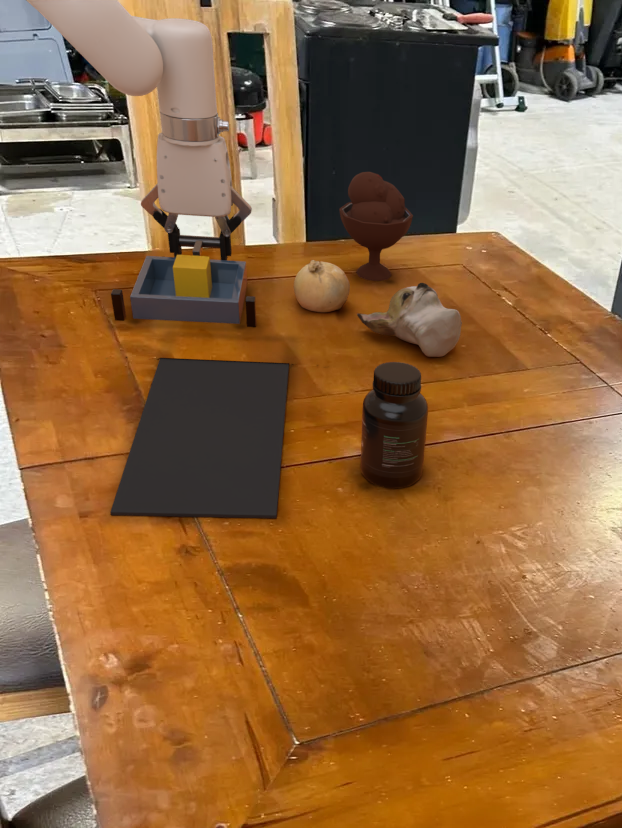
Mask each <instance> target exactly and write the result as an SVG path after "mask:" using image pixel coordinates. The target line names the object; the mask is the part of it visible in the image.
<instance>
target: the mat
mask: <svg viewBox="0 0 622 828" xmlns="http://www.w3.org/2000/svg"><path fill="white" fill-rule="evenodd" d="M289 371H290V362H272V361H271V362H269V361H246V360H225V359H224V360H220V359H201V358H200V359H199V358H175V357H159V360H158V364H157V366H156V370H155V372H154V376H153V379H152V382H151V385H150V388H149V391H148V394H147V397H146V400H145V404H144V406H143V409H142V413H141V416H140V420H139V422H138V425H137V428H136V431H135V434H134V438H133V440H132V444H131V447H130V450H129V453H128V456H127V459H126V462H125V465H124V469H123V471H122V475H121V478H120V481H119V484H118V487H117V490H116V493H115V497H114V499H113V503H112V506H111V509H110V512H109V513H110V516H130V517H135V516H136V517H179V518H180V517H183V518H186V517H187V518H230V519H231V518H233V519H234V518H236V519H277V517H278V507H279V505H278V504H279V496H280V495H279V494H280V481H281V469H282V456H283V444H284V443H283V442H284V434H285V433H284V432H285V420H286V419H285V418H286V409H287V408H286V407H287V396H288V383H289V382H288V381H289V373H290V372H289Z"/></svg>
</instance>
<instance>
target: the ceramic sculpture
mask: <svg viewBox="0 0 622 828" xmlns="http://www.w3.org/2000/svg"><path fill="white" fill-rule="evenodd" d="M356 316H357V318H358V319H359V320H360V321H361V323H362V324H363V325H364V326H366V327H367V328H368V329H369V330H370V331H372V332H373V333H375V334H378V335H382V336H390V337H391V336H392V337H393V336H394V337H396V338H398V339H400V340H401V341H404V342H406V343H409V344H413V345H417V346H419V348H420V351H421V352H422V353H423V354H424V355H425V356H426V357H428V358H442V357H445V356H446V355H447V354H448V353H449V352H451V351H452V350H453V349H454V348H455V347H456V345H457V344H458V342H459V340H460V337H461V331H462V325H463V322H462V316H461V313H460V312H459V310H457V309H454V308H447V307H445V306H444V305H443V304H442V301H441V300H440V298H439V296H438V293H437V291H436V290H435V289H434V288H433V287H431V286H429V285H428V284H427V283H426V282H420V283H418V284H417V285H414V286H413V285H412V286H407V287H403V288H401V289H398V290H397V291H396V292H395V293H394V294H393V295H392V296H391V298H390V301H389V306H388V310H387V311H386V312H382V311H377V312H376V311H375V312H372V313H369V314H366V313H356Z"/></svg>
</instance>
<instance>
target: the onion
mask: <svg viewBox="0 0 622 828" xmlns="http://www.w3.org/2000/svg"><path fill="white" fill-rule="evenodd" d="M293 280H294V281H293V292H294V296H295V298H296V301H297V302H298V304H299V305H300V307H301V308H303V309H306V310H307V311H310V312H315V313H316V312H317V313H330V312H333V311H338V310H341V309H342V307H343V306H344V305H345V303H346V302H347V299H348V298H349V295H350V293H351V292H350V291H351V285H350V281H349V278H348V276H347V275H346V273H345V271H344V270H343V269H342V268H340V267H339V266H337V264H334V263H331V262H327V261H320V260H314V259H311V260H310V262H309V263H308V264H307V263H306V264H305V265H304V266H303V267H302V268H300V270H299V271H298V272H297V274H296V275H295V277H294V279H293Z"/></svg>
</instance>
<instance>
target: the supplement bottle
mask: <svg viewBox="0 0 622 828" xmlns="http://www.w3.org/2000/svg"><path fill="white" fill-rule="evenodd" d="M421 392H422V373H421V371H420V370H419V368H417V367H416V366H414V365H412V364H409V363H406V362H402V361H401V362H400V361H398V362H397V361H388V362H383V363H381V364H379V365H376V367H375V368H374V370H373V380H372V388H371V390H369V391H368V392H367V394H366V395H365V396H364V397H363V400H362V407H361V411H362V412H361V435H360V436H361V440H360V442H361V444H360V472H361V473H362V476H363V477H364V478H365V479H366V480H367V481H369V482H370V483H371V484H373V485H375V486H378V487H381V488H385V489H402V488H407V487H409V486H412V485H414V484H415V483H417V482H418V481H419V480H420V478H421V477H422V475H423V471H424V461H425V451H426V439H427V438H426V437H427V430H428V429H427V427H428V418H429V403H428V401H427V400H426V397H425V396H424V395H423V394H422V393H421Z"/></svg>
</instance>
